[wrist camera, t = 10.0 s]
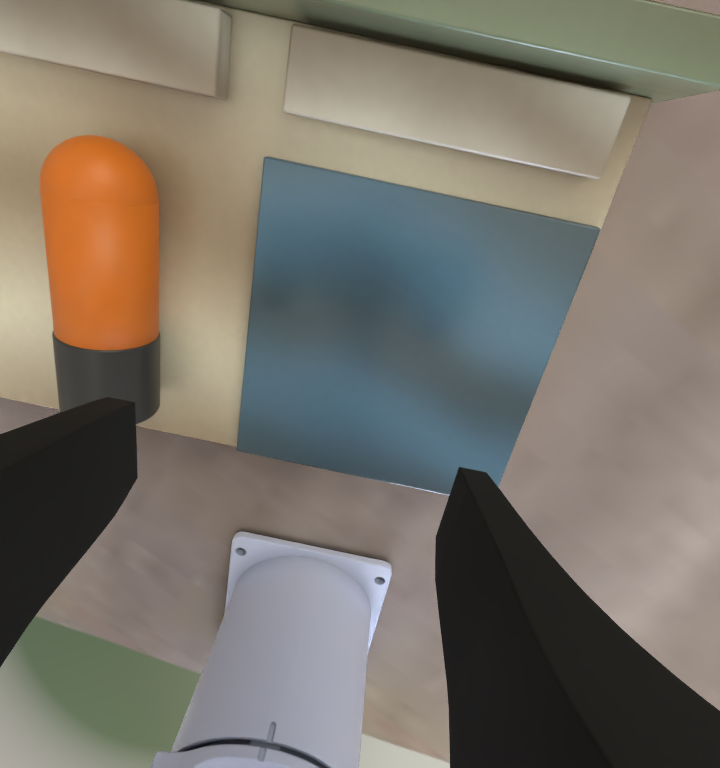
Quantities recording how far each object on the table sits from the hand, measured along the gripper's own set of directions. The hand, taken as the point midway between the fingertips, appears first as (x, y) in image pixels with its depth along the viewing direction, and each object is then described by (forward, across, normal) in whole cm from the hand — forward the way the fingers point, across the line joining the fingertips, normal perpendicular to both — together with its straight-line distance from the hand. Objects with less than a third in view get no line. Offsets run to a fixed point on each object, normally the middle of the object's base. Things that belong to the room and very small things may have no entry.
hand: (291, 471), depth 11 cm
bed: (+9, +3, -3) cm, 10 cm away
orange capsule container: (+6, +8, -1) cm, 11 cm away
